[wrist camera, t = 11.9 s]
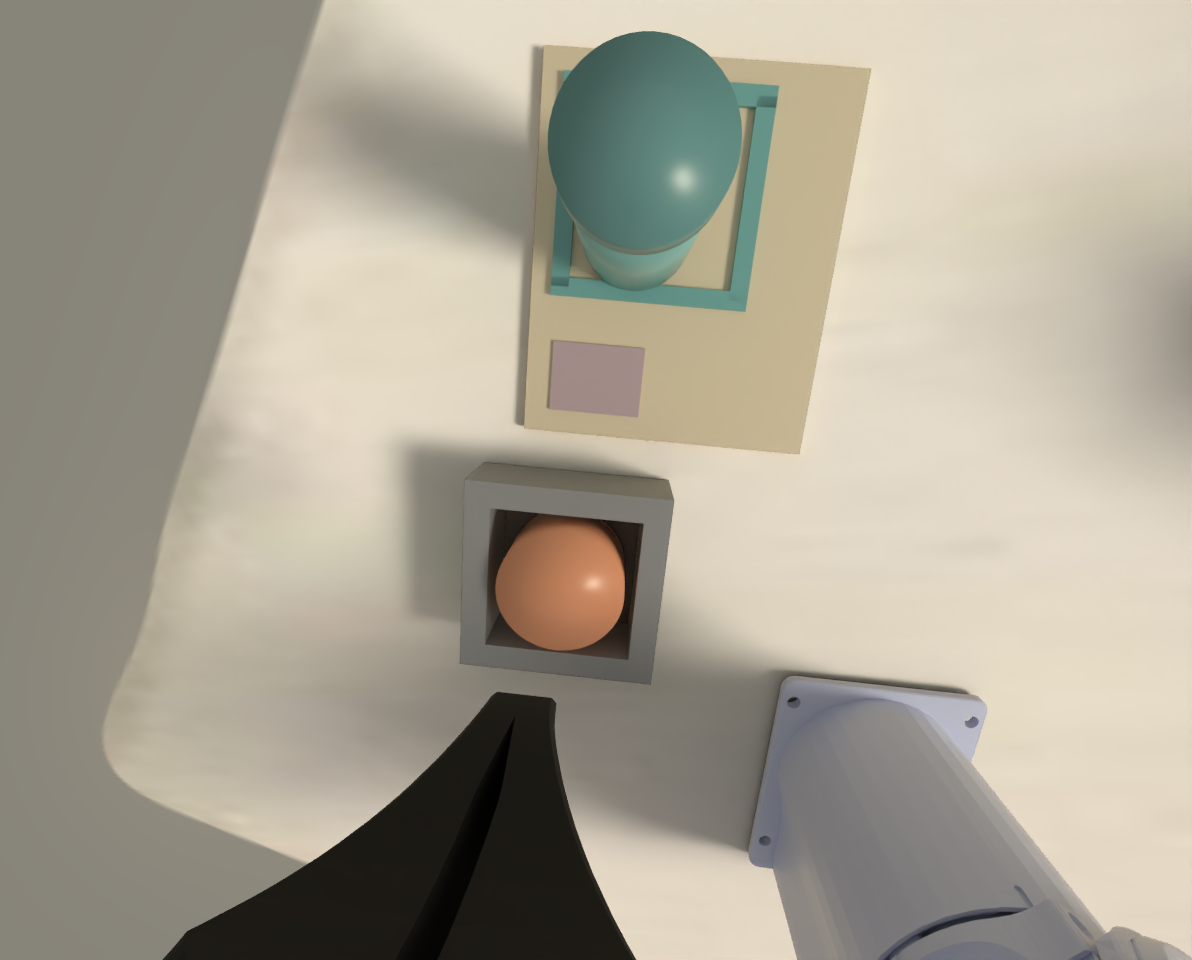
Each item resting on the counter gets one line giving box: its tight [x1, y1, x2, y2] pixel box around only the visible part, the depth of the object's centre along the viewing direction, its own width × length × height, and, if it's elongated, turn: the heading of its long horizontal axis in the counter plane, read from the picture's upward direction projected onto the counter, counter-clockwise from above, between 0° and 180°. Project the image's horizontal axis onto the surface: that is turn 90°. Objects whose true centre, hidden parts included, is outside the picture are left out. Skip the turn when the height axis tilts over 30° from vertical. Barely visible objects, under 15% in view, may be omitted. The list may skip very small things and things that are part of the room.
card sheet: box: [524, 45, 871, 454], centre depth 18 cm, size 12×10×1 cm
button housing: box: [460, 462, 674, 685], centre depth 20 cm, size 7×7×3 cm
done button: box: [495, 513, 625, 651], centre depth 20 cm, size 4×4×2 cm
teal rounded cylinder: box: [548, 31, 742, 291], centre depth 14 cm, size 4×4×8 cm
